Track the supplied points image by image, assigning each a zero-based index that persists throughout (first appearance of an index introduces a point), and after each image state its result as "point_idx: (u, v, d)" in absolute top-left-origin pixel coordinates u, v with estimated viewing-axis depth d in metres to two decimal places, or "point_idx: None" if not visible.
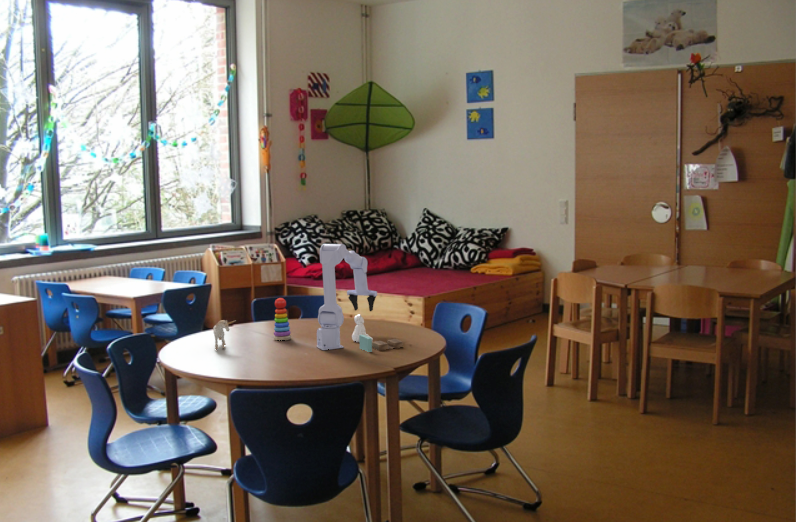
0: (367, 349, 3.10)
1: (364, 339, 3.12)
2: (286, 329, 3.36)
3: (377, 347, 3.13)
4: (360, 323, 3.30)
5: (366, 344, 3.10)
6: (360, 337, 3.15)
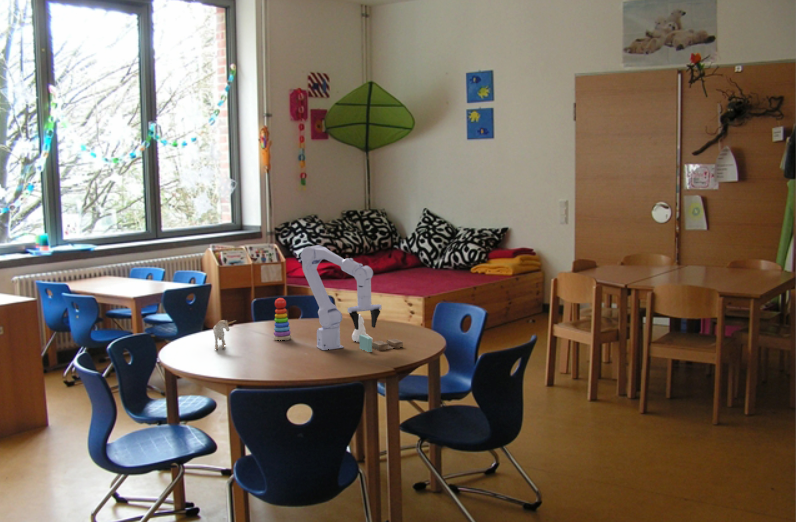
0: (367, 349, 3.10)
1: (364, 339, 3.12)
2: (286, 329, 3.36)
3: (377, 347, 3.13)
4: (360, 323, 3.30)
5: (366, 344, 3.10)
6: (360, 337, 3.15)
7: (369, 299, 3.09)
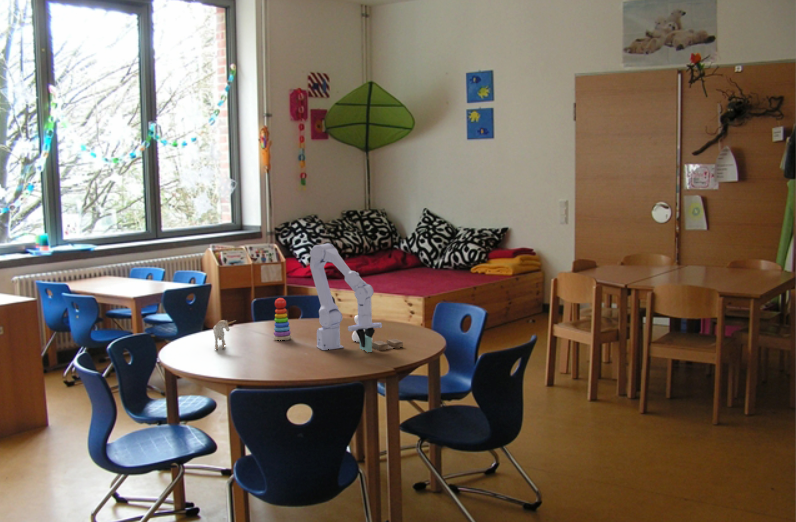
0: (367, 349, 3.10)
1: None
2: (286, 329, 3.36)
3: (377, 347, 3.13)
4: None
5: (366, 344, 3.10)
6: None
7: (369, 317, 3.10)
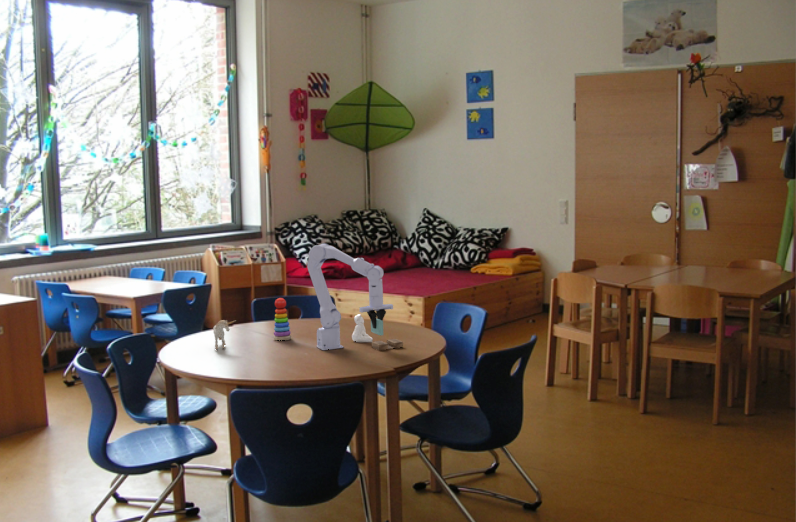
0: (379, 331, 3.11)
1: None
2: (286, 329, 3.36)
3: (377, 347, 3.13)
4: (360, 323, 3.30)
5: (377, 327, 3.12)
6: None
7: (381, 299, 3.11)
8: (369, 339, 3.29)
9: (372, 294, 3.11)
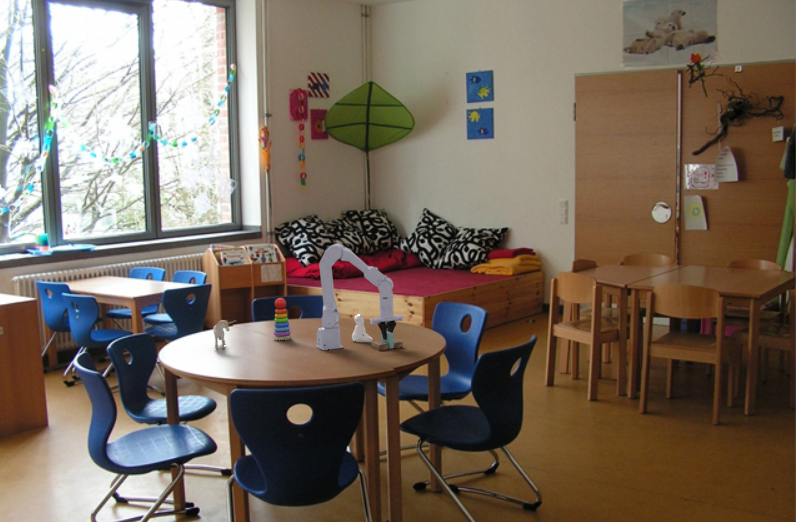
0: (389, 344, 3.14)
1: None
2: (286, 329, 3.36)
3: (377, 347, 3.13)
4: (360, 323, 3.30)
5: (388, 339, 3.14)
6: None
7: (391, 310, 3.14)
8: (369, 339, 3.29)
9: (383, 306, 3.13)
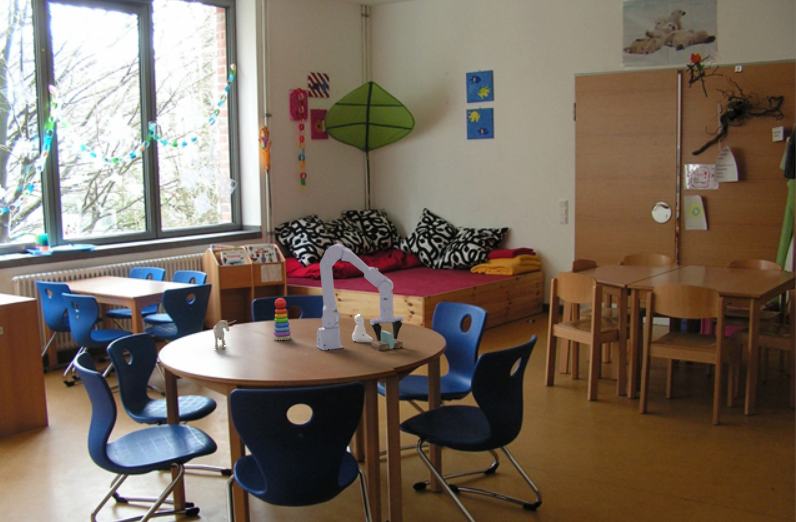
0: (389, 345, 3.14)
1: (386, 335, 3.16)
2: (286, 329, 3.36)
3: (377, 347, 3.13)
4: (360, 323, 3.30)
5: (388, 340, 3.14)
6: (382, 333, 3.20)
7: (391, 311, 3.14)
8: (369, 339, 3.29)
9: (383, 307, 3.13)
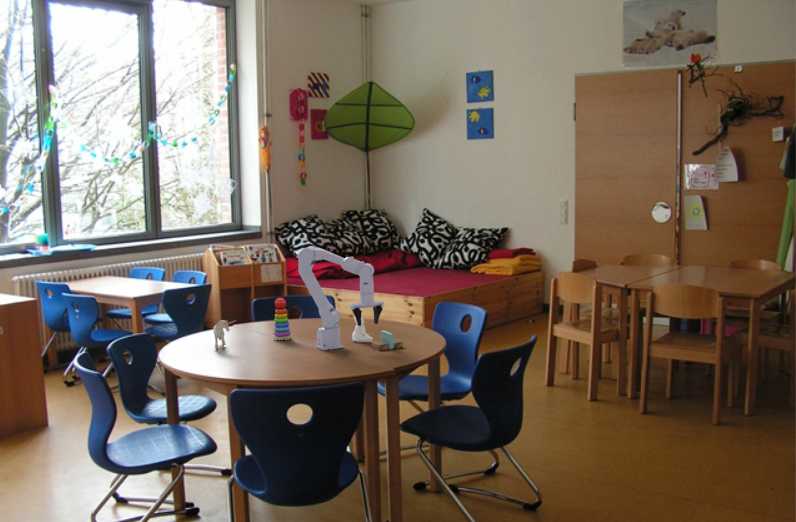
0: (389, 345, 3.14)
1: (386, 335, 3.16)
2: (286, 329, 3.36)
3: (377, 347, 3.13)
4: None
5: (388, 340, 3.14)
6: (382, 333, 3.20)
7: (372, 296, 3.14)
8: (369, 339, 3.29)
9: (363, 291, 3.13)
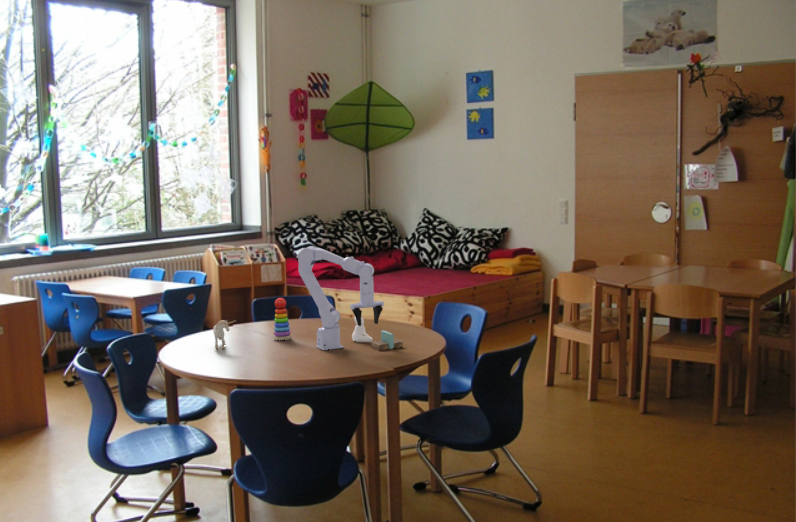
0: (389, 345, 3.14)
1: (386, 335, 3.16)
2: (286, 329, 3.36)
3: (377, 347, 3.13)
4: None
5: (388, 340, 3.14)
6: (382, 333, 3.20)
7: (372, 296, 3.14)
8: (369, 339, 3.29)
9: (363, 291, 3.13)
